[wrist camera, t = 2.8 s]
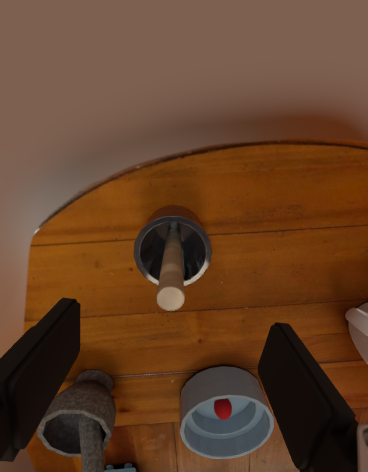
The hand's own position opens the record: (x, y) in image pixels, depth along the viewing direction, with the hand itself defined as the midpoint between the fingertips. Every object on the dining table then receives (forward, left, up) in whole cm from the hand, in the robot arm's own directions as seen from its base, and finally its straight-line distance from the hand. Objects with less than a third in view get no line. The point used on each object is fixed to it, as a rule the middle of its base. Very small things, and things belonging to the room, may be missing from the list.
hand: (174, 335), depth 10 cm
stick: (0, 0, -17) cm, 17 cm away
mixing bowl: (+12, -28, -18) cm, 35 cm away
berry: (+12, -28, -16) cm, 34 cm away
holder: (0, 0, -18) cm, 18 cm away
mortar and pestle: (-9, -28, -18) cm, 34 cm away
